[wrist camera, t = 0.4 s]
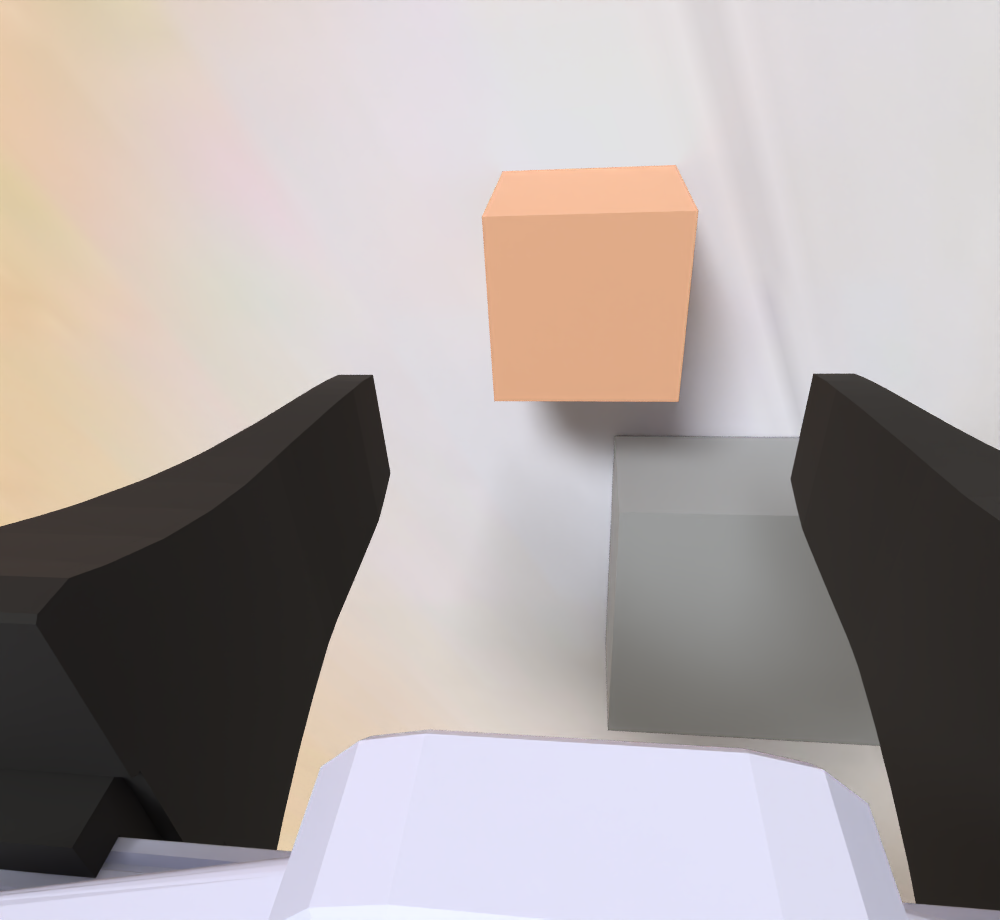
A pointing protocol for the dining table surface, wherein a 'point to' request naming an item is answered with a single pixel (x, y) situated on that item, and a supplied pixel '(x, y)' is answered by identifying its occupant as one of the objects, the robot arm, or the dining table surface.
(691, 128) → the dining table surface
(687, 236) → the peach block
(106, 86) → the dining table surface
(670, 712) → the base block
